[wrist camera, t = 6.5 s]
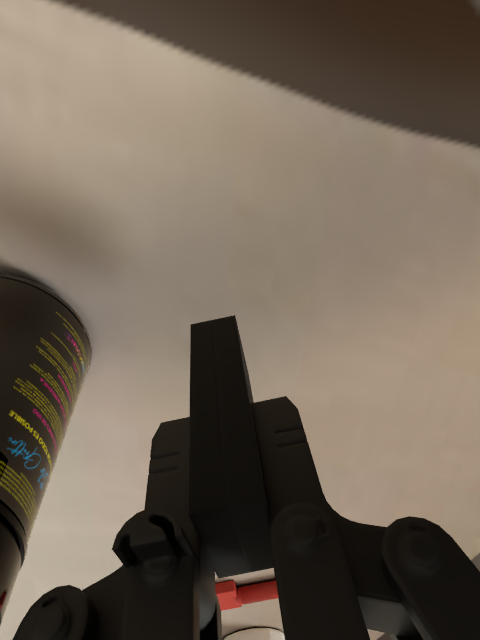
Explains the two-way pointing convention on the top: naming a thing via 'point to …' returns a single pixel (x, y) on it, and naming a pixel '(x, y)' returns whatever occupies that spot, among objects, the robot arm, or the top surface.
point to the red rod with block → (244, 593)
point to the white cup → (257, 634)
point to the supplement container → (33, 406)
